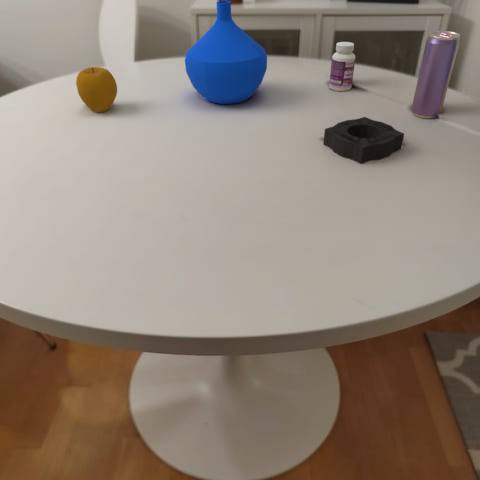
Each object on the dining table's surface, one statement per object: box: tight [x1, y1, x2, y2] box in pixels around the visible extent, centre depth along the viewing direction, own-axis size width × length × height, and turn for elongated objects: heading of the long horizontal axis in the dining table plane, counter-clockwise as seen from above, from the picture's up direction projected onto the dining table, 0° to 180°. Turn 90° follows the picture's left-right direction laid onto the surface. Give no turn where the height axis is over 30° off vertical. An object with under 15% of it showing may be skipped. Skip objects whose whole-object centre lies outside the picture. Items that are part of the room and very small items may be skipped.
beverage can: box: [410, 30, 461, 119], centre depth 91 cm, size 6×6×15 cm
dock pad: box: [323, 116, 405, 165], centre depth 84 cm, size 11×11×3 cm
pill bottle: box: [328, 41, 356, 92], centre depth 106 cm, size 5×5×10 cm
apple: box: [75, 66, 118, 113], centre depth 100 cm, size 8×8×9 cm
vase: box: [184, 0, 268, 105], centre depth 100 cm, size 18×18×19 cm
